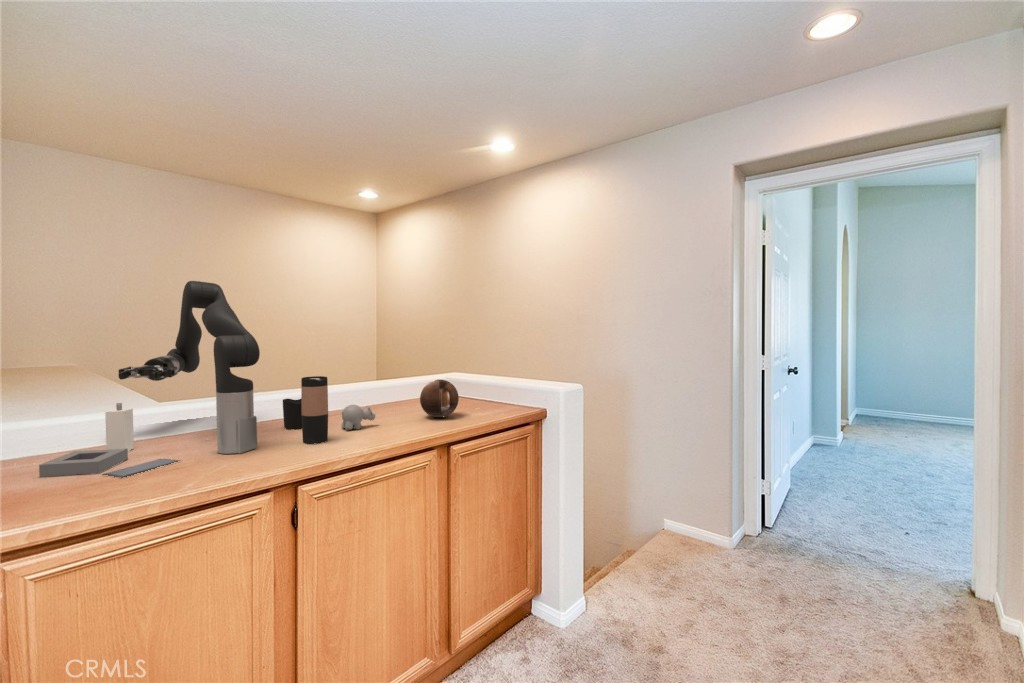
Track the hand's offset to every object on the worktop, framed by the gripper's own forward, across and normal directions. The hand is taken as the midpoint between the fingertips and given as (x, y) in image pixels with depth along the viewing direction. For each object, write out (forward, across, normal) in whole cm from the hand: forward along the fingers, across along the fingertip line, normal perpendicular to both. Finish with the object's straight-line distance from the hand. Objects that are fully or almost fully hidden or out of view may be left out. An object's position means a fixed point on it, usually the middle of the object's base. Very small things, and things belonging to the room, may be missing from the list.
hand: (137, 376), depth 140 cm
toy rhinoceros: (-2, +65, +20) cm, 68 cm away
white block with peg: (+12, 0, +20) cm, 23 cm away
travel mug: (+14, +52, +19) cm, 57 cm away
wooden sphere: (-13, +94, +20) cm, 97 cm away
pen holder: (-9, +44, +21) cm, 49 cm away
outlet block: (+27, 0, +19) cm, 33 cm away
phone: (+31, +14, +19) cm, 39 cm away
